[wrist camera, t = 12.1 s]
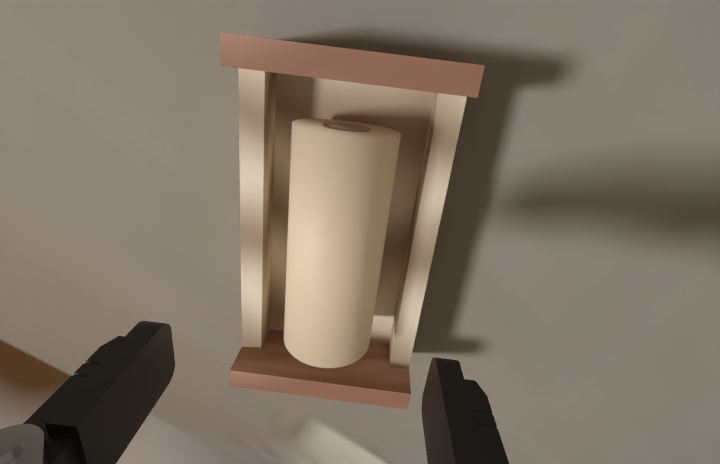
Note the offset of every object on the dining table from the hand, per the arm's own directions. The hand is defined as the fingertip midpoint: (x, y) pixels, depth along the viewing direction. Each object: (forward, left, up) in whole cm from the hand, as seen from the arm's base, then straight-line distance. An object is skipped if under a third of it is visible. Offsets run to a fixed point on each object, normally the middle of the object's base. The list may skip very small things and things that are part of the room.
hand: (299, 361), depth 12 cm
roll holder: (0, 0, -12) cm, 12 cm away
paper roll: (0, 0, -9) cm, 9 cm away
